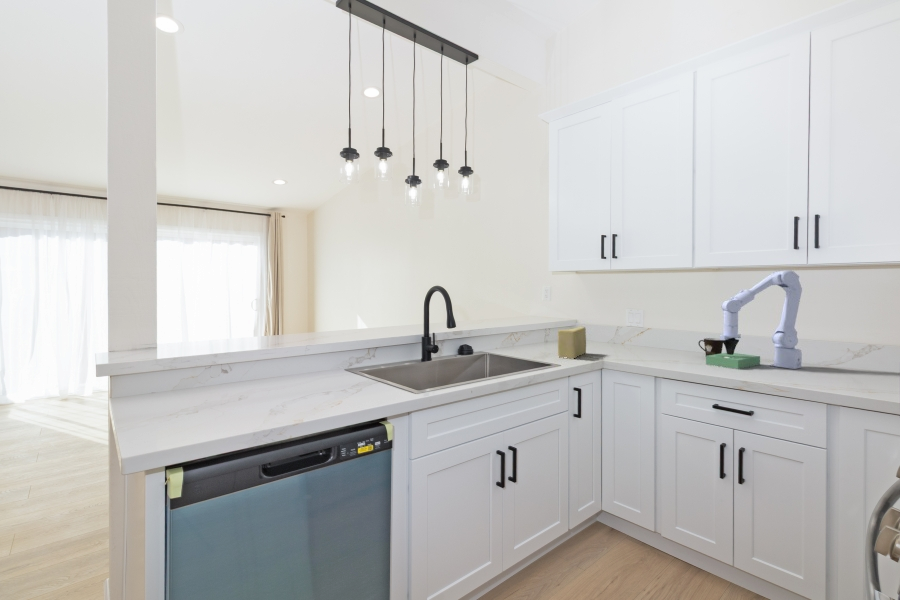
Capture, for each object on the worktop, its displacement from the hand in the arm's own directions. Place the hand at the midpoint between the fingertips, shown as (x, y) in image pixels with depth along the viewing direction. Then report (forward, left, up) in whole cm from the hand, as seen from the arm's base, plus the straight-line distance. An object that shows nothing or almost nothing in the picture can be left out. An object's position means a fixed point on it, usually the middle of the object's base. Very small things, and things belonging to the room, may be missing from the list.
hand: (730, 354), depth 199 cm
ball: (0, +2, -3) cm, 4 cm away
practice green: (0, -3, -5) cm, 6 cm away
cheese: (+57, +41, -5) cm, 71 cm away
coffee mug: (+15, -13, -5) cm, 20 cm away
